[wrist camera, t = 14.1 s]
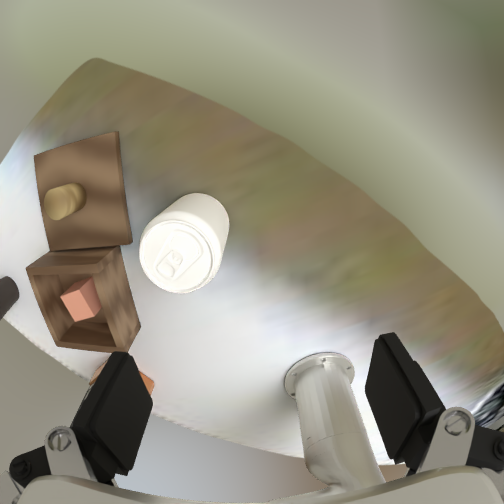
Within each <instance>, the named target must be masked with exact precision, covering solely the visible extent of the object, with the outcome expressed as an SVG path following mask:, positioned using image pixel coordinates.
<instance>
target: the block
mask: <svg viewBox="0 0 504 504" xmlns="http://www.w3.org/2000/svg"><path fill="white" fill-rule="evenodd" d="M60 297H61V299H62V301H63V302H64V304H65V306H66V308H67V309H68V311H69V313H70V314H71V316H72V318H73V319H74V321H75V322H76V321H80V320H84V319H87V318H91V317H94V316H95V315H96V314H97V313H98V311H99V310H100V309H101V308H102V306H101V303H100V299H99V296H98V293H97V290H96V287H95V283H94V280H93V277H92V276H91V277H89V278H86V279H84V280H81V281H79V282H76V283H74V284H73V285H72V286H71V287H70V288H69V289H68V290H67V291H66V292H65V293H63V294H62V295H61V296H60Z"/></svg>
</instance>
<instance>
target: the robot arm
mask: <svg viewBox="0 0 504 504" xmlns="http://www.w3.org/2000/svg"><path fill="white" fill-rule="evenodd" d="M354 375H355V371H354V367H353V365H352V363H351V361H350V360H349V359H348V358H347V357H345V356H343V355H341V354H337V353H320V354H315V355H312V356H309V357H306V358H304V359H302V360H301V361H299V362H298V363H296V364H295V365H294V366H293V367H292V368H291V369H290V370H289V371H288V373H287V375H286V377H285V389H286V392H287V393H288V395H289V396H290V397H292V398H293V399H295V400H296V402H297V409H298V415H299V422H300V429H301V436H302V443H303V450H304V458H305V464H306V466H307V469H308V470H309V472H310V473H311V474H312V475H313V476H314V477H315V478H317V479H318V480H320V481H321V482H323V483H325V484H327V485H328V486H329V487H327V488H325V489H322V490H318V491H316V492H311V493H306V494H301V495H296V496H291V497H286V498H280V499H275V500H271V501H268V502H265V503H220V502H204V501H192V500H183V499H175V498H168V497H161V496H156V495H150V494H145V493H140V492H136V491H130V490H126V489H122V488H119V487H118V485H117V483H116V481H115V479H114V476H115V473H116V474H120V475H125V476H127V475H128V472H129V470H132V468H133V466H134V462H135V459H136V456H137V452H138V449H139V447H140V443H141V440H142V437H143V434H144V431H145V428H146V425H147V422H148V419H149V416H150V413H151V410H152V406H153V402H152V398H151V396H150V394H149V392H148V390H147V388H146V386H145V383H144V381H143V379H142V377H141V375H140V372H139V370H138V368H137V365H136V363H135V361H134V358H133V357H132V356H130V355H129V353H128V352H121V351H114V352H113V353H112V354H111V356H110V357H109V359H108V361H107V362H106V364H105V366H104V367H103V369H102V371H101V372H100V374H99V376H98V378H97V379H96V381H95V383H94V385H93V386H92V388H91V390H90V392H89V393H88V395H87V397H86V399H85V401H84V403H83V404H82V406H81V408H80V410H79V412H78V414H77V415H76V417H75V419H74V421H73V423H72V425H73V426H72V428H71V429H70V428H69V427H66V426H58V427H55V428H53V429H51V430H50V431H49V432H48V433H47V435H46V437H45V440H44V441H45V445H44V446H42V447H40V448H37V449H35V450H32V451H30V452H27V453H24V454H21V455H19V456H17V457H15V458H14V459H13V460H12V462H11V464H10V468H9V471H10V472H7V471H5V472H3V473H2V474H1V475H0V504H504V432H500V431H496V430H492V429H489V428H485V427H481V426H478V425H475V420H474V417H473V415H472V414H471V413H470V412H469V411H468V410H466V409H464V408H462V407H452V408H449V409H447V410H446V408H445V406H444V405H443V403H442V401H441V400H440V398H439V396H438V395H437V393H436V391H435V390H434V388H433V386H432V385H431V383H430V381H429V380H428V378H427V377H426V375H425V373H424V372H423V370H422V369H421V367H420V365H419V364H418V363H417V362H416V361H413V359H412V358H411V356H410V355H409V353H408V352H407V350H406V349H405V347H404V346H403V344H402V342H401V341H400V339H399V338H398V336H397V335H396V334H395V333H394V332H392V333H387V334H382V335H380V336H379V338H378V339H376V340H375V342H374V347H373V353H372V358H371V362H370V367H369V372H368V376H367V380H366V385H365V394H366V397H367V399H368V402H369V404H370V407H371V410H372V412H373V415H374V418H375V420H376V423H377V426H378V429H379V431H380V434H381V437H382V440H383V442H384V445H385V448H386V451H387V454H388V457H389V458H390V459H394V462H395V465H396V464H399V463H402V462H405V463H406V466H407V467H408V469H407V471H406V473H405V475H404V477H403V478H400V479H397V480H394V481H390V482H385V479H384V477H383V476H382V474H381V471H380V469H379V467H378V464H377V462H376V459H375V456H374V453H373V450H372V447H371V444H370V441H369V438H368V435H367V432H366V429H365V426H364V423H363V420H362V417H361V414H360V411H359V408H358V405H357V402H356V399H355V396H354V394H353V391H352V388H351V383H352V381H353V379H354Z"/></svg>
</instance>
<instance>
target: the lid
mask: <svg viewBox="0 0 504 504" xmlns="http://www.w3.org/2000/svg"><path fill="white" fill-rule="evenodd" d="M34 163H35V172H36V180H37V188H38V194H39V200H40V206H41V212H42V217H43V222H44V227H45V231H46V236H47V240H48V244H49V248H50V251H55V250H67V249H79V248H91V247H103V246H116V245H130V244H131V243H132V242H133V240H132V234H131V229H130V223H129V217H128V211H127V204H126V197H125V190H124V182H123V174H122V165H121V155H120V143H119V132H111V133H107V134H103V135H99V136H95V137H91V138H88V139H84V140H80V141H77V142H74V143H70V144H67V145H64V146H61V147H57V148H54V149H51V150H48V151H46V152H43V153H40V154H37V155H34Z"/></svg>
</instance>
